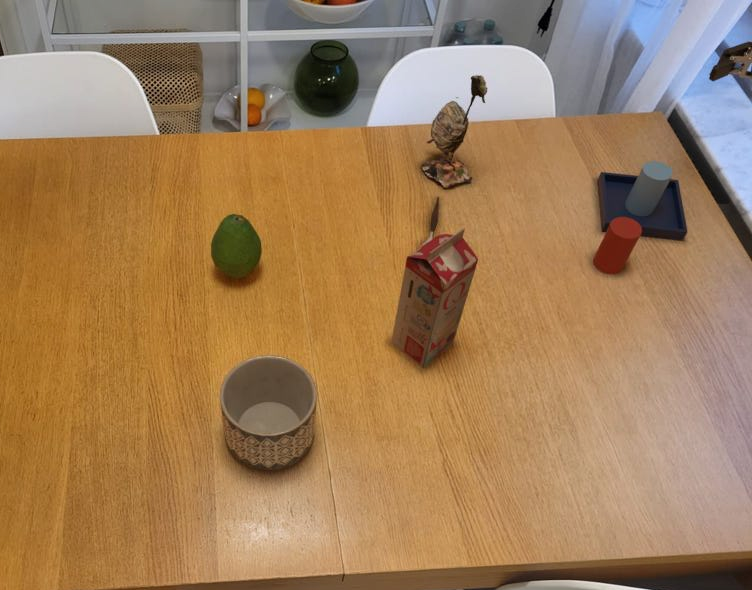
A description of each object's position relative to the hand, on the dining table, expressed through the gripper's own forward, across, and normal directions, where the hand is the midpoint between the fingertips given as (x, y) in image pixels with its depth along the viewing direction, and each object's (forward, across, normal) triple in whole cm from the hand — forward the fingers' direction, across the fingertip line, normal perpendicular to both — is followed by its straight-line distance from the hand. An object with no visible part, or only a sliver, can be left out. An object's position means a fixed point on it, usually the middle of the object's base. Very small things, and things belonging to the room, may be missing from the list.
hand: (734, 88), depth 115 cm
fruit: (+75, -24, +22) cm, 81 cm away
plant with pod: (+30, -27, +22) cm, 46 cm away
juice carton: (+57, +4, +22) cm, 62 cm away
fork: (+41, -15, +22) cm, 49 cm away
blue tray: (+8, -1, +22) cm, 23 cm away
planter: (+86, +6, +22) cm, 89 cm away
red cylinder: (+21, +6, +22) cm, 31 cm away
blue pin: (+8, -1, +21) cm, 23 cm away
